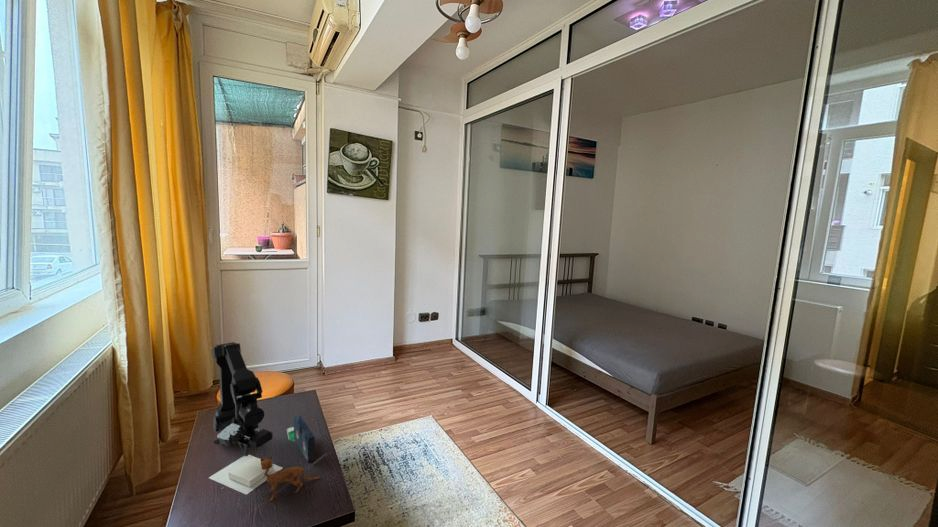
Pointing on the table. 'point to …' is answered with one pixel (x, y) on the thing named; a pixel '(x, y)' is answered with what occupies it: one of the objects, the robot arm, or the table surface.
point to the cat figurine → (283, 475)
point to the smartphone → (290, 433)
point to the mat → (225, 480)
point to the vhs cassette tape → (304, 438)
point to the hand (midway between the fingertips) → (246, 455)
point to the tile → (249, 472)
